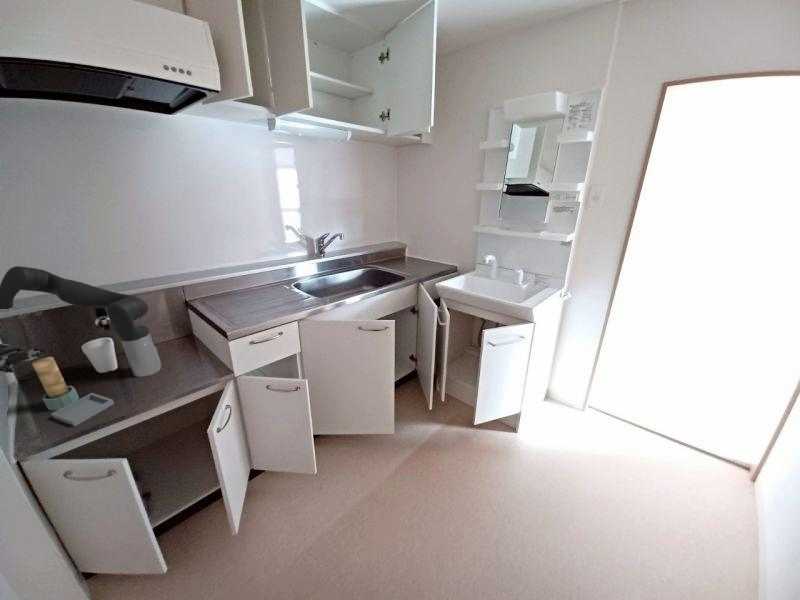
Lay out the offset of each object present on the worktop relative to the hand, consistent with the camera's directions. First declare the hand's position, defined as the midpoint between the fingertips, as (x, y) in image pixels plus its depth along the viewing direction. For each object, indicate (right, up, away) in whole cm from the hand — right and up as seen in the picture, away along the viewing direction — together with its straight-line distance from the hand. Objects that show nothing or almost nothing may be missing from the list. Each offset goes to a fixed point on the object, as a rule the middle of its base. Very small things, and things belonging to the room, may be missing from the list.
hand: (28, 363), depth 110 cm
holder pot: (+11, -15, +2) cm, 19 cm away
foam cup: (+7, -7, +23) cm, 25 cm away
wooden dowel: (+11, -15, +2) cm, 18 cm away
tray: (+22, -17, -1) cm, 28 cm away
